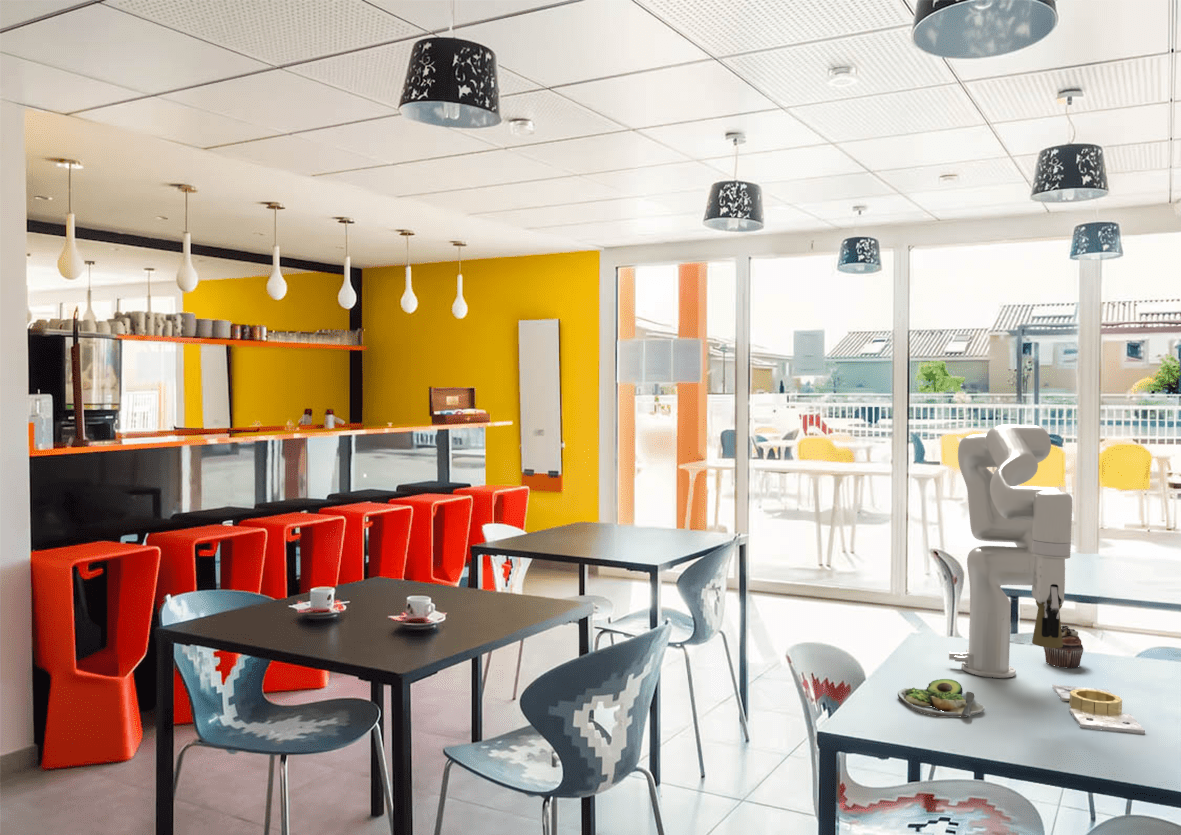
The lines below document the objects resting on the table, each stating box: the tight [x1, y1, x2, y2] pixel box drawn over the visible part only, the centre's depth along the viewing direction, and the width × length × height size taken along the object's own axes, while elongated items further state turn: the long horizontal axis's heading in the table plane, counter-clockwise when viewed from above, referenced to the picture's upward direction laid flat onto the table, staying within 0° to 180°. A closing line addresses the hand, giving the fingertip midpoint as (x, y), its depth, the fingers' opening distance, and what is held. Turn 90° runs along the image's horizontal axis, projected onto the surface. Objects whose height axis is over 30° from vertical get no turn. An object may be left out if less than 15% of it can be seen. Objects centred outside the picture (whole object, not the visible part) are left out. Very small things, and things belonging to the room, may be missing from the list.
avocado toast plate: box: [897, 678, 985, 718], centre depth 214 cm, size 19×18×5 cm
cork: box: [1031, 598, 1063, 648], centre depth 207 cm, size 6×6×11 cm
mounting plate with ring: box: [1051, 684, 1146, 735], centre depth 215 cm, size 12×30×3 cm, turn 165°
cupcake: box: [1043, 625, 1084, 669], centre depth 253 cm, size 10×10×10 cm
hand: (1047, 633), depth 207 cm, fingers closed on cork, 4 cm apart
